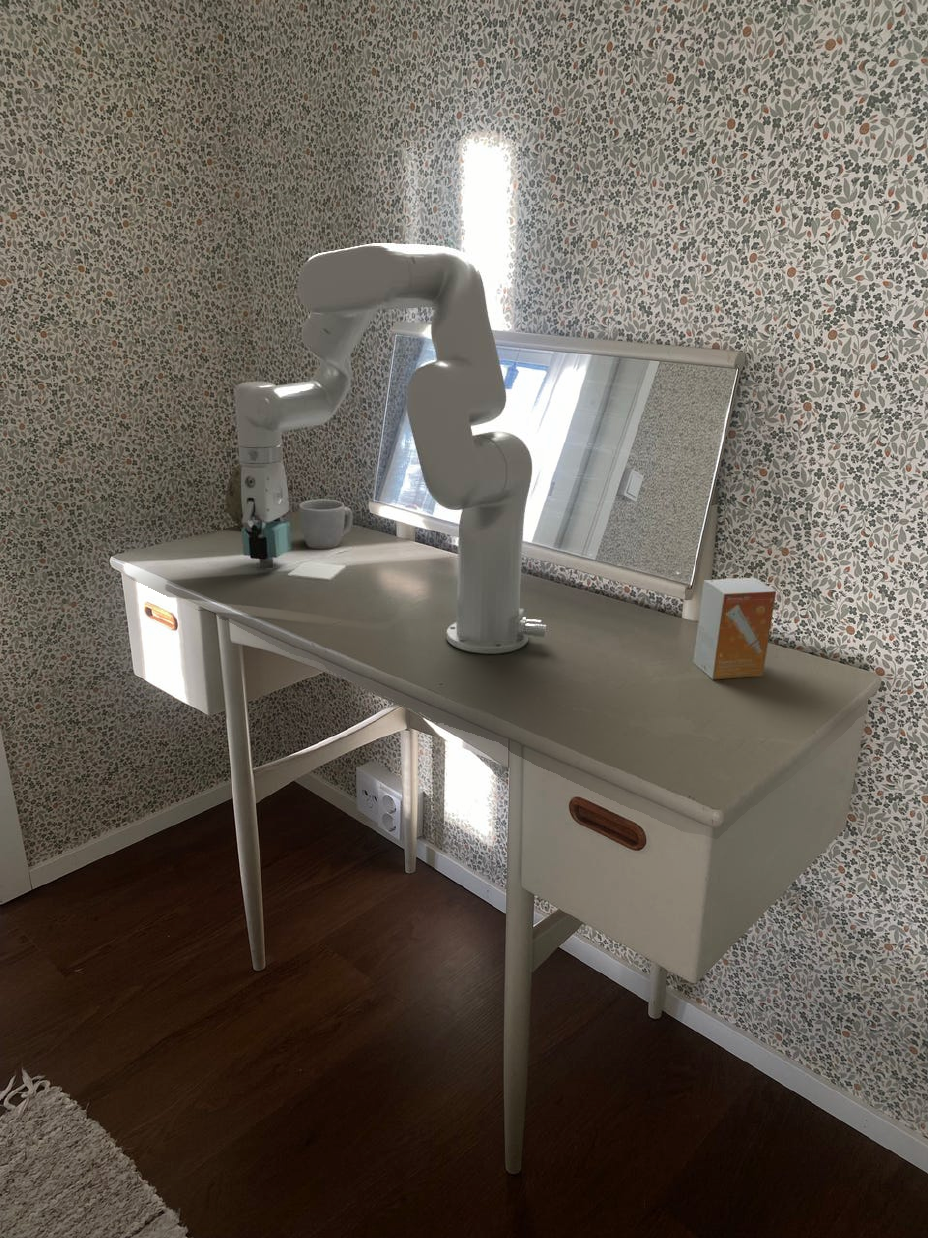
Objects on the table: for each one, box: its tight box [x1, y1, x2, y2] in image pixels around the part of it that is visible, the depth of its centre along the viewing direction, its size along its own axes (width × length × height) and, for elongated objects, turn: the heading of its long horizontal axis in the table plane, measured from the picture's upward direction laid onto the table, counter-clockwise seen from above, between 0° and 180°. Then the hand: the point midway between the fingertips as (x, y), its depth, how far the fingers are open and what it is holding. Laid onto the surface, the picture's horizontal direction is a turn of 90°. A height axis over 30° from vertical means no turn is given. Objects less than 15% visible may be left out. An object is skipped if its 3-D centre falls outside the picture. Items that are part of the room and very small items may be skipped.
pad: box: [287, 561, 347, 582], centre depth 168 cm, size 8×8×1 cm
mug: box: [298, 498, 354, 550], centre depth 184 cm, size 12×9×10 cm
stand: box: [254, 557, 280, 571], centre depth 169 cm, size 20×12×5 cm, turn 76°
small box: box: [693, 577, 777, 680], centre depth 132 cm, size 8×6×13 cm
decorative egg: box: [225, 463, 260, 528], centre depth 196 cm, size 11×11×15 cm
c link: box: [240, 521, 292, 559], centre depth 168 cm, size 6×6×5 cm
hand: (267, 552), depth 169 cm, fingers closed on c link, 6 cm apart
